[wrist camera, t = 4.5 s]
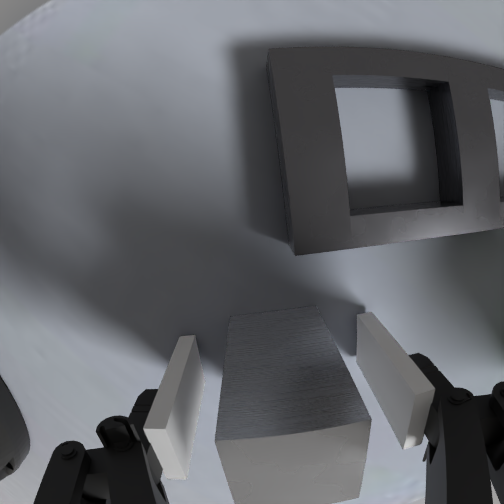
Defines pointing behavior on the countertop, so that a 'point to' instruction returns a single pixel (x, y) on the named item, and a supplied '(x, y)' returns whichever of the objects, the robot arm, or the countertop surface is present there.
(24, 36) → the countertop surface
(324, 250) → the dark grey flat frame
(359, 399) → the gray squarish block
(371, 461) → the countertop surface
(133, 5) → the countertop surface
